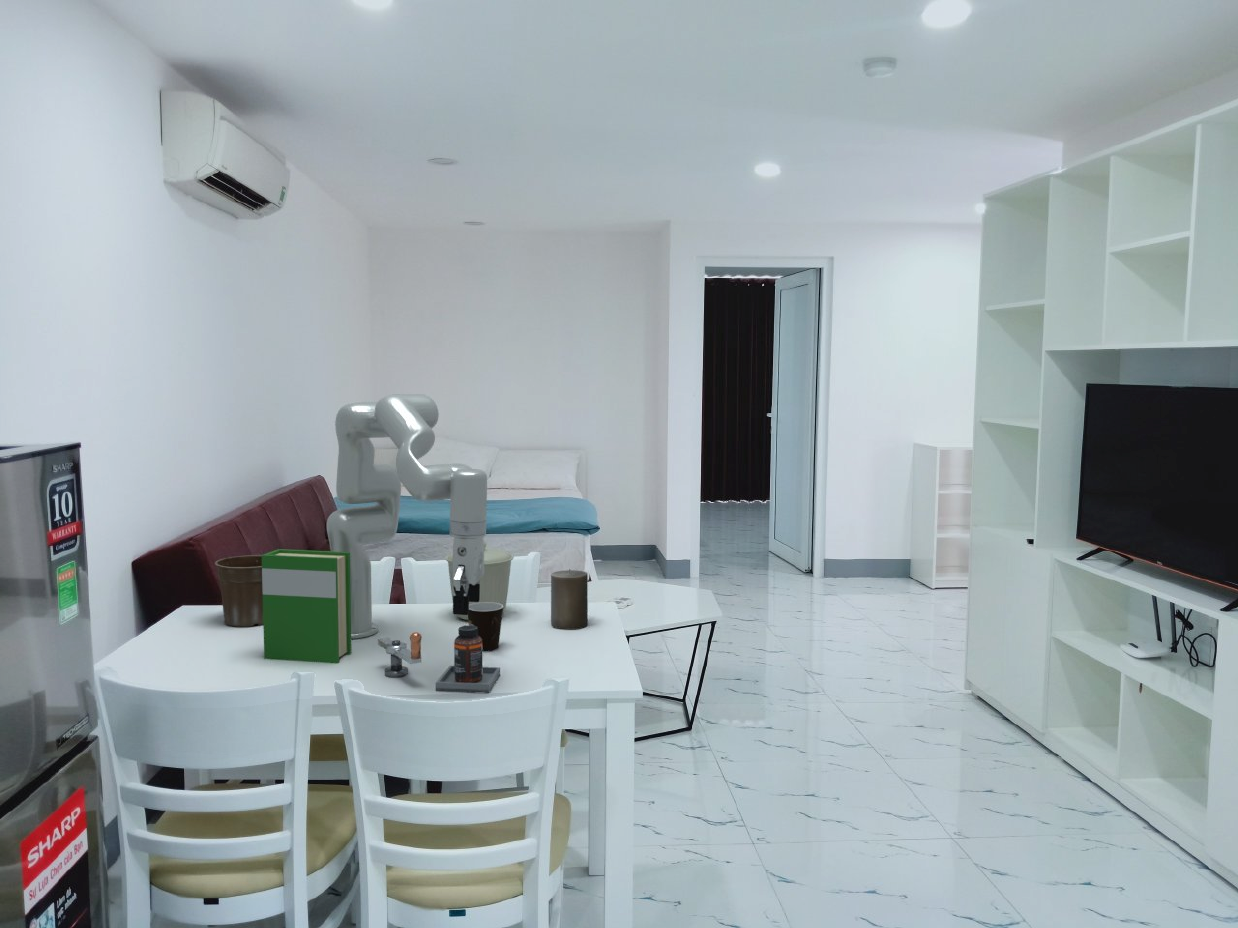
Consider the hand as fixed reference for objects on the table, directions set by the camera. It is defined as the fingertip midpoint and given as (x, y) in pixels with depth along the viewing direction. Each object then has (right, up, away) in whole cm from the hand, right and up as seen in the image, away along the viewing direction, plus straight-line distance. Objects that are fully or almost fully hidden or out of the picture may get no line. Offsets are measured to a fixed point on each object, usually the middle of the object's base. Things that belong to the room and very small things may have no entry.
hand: (466, 607), depth 196 cm
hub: (-16, -15, +6) cm, 23 cm away
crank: (-15, -11, +4) cm, 19 cm away
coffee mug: (0, -14, +25) cm, 29 cm away
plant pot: (-64, -11, +47) cm, 80 cm away
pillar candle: (+19, -12, +47) cm, 53 cm away
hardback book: (-39, -14, +18) cm, 46 cm away
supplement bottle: (0, -16, +1) cm, 16 cm away
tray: (0, -16, +1) cm, 16 cm away
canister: (-5, -11, +54) cm, 56 cm away
